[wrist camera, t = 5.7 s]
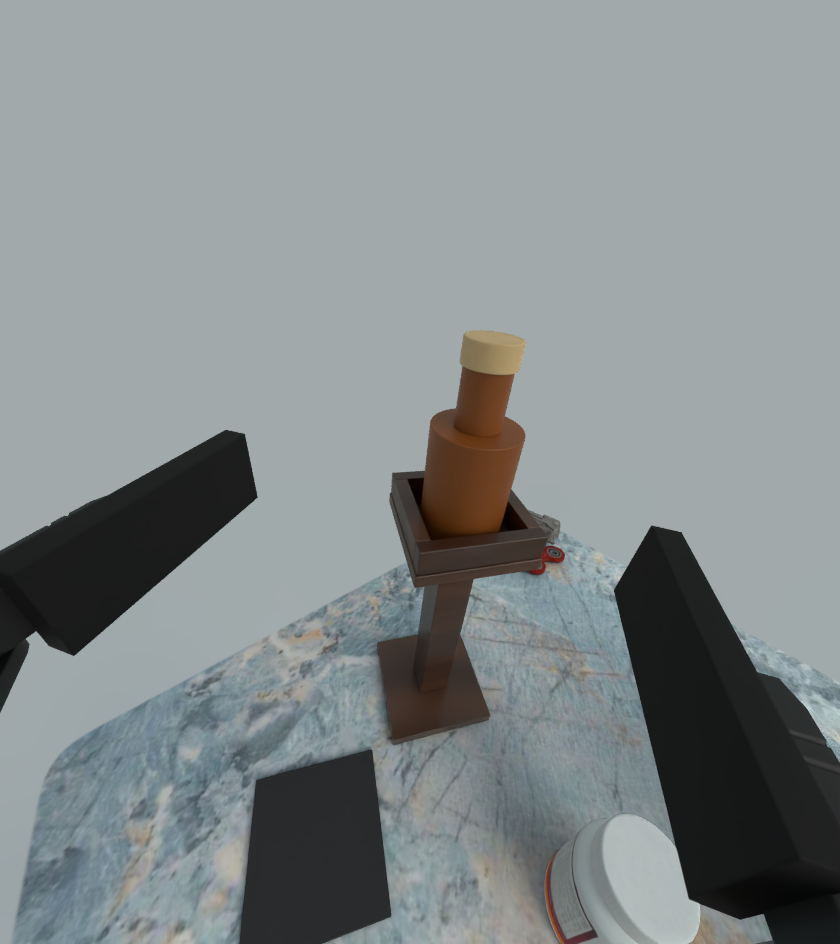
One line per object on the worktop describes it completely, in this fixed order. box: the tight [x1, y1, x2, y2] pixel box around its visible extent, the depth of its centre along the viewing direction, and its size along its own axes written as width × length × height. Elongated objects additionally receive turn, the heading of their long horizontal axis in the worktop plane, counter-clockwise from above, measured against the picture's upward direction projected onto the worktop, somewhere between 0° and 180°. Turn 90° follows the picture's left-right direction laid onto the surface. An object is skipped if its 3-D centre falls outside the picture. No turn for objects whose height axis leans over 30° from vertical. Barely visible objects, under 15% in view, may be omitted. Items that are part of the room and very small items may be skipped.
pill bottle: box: [544, 813, 700, 944], centre depth 23 cm, size 6×6×11 cm
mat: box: [239, 750, 391, 944], centre depth 28 cm, size 10×10×1 cm
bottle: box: [420, 331, 526, 540], centre depth 23 cm, size 6×6×13 cm
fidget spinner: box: [528, 546, 565, 575], centre depth 56 cm, size 8×7×1 cm
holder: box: [377, 471, 548, 745], centre depth 32 cm, size 10×10×25 cm
